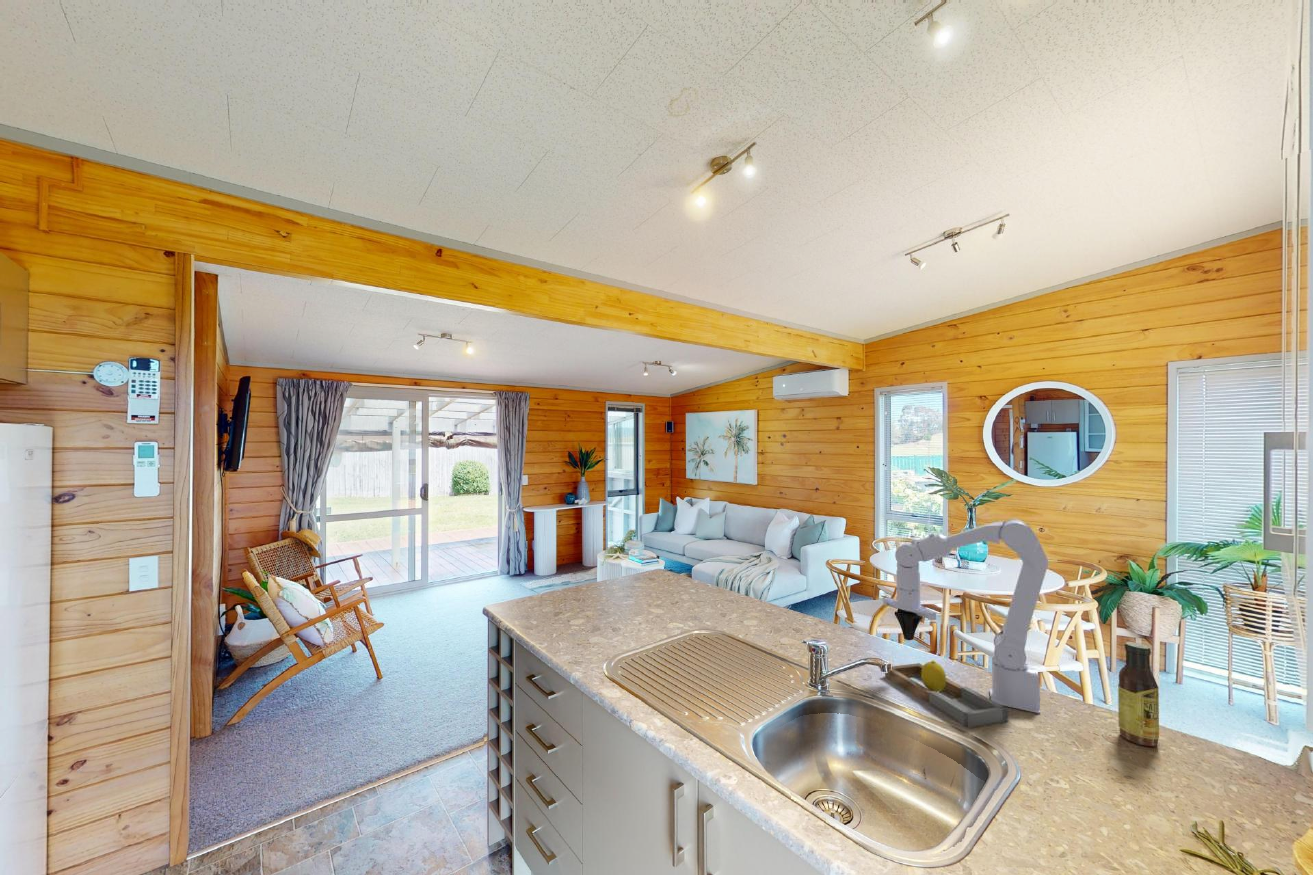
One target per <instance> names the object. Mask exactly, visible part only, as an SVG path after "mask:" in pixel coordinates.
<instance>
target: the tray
mask: <svg viewBox="0 0 1313 875" xmlns="http://www.w3.org/2000/svg"><path fill="white" fill-rule="evenodd" d="M961 695H962V698H958V697H957V698H951V699H949V698H948V697H946V696H944V695H942V694H941V693H939V692H936V691H931V690H930V692H929V705H930V706H932V707H933V708H935V709H937V710H938V711H940V712H941V713H943V715H946V716H948V717H949V718H951V719H952V720H955V721H956V722H957V723H958V724H960V725H962V726H963V727H965V728H967V729H973V728H979V727H984V726H985V725H986V726H990V725H991V726H992V725H998V724H997V723H999V724H1004V723H1008V721H1009V716H1008V712H1009V711H1008V710H1009V709H1008V708H1007V706H1003V705H1000V704H998V703H996V702H994V701H992V700H991V698H990V697H989V698H988V697H986V696H985V695H983V694H981V693H980V692H977V691H976V690H973V689H972V688H970V687H968V686H962V687H961Z"/></svg>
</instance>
